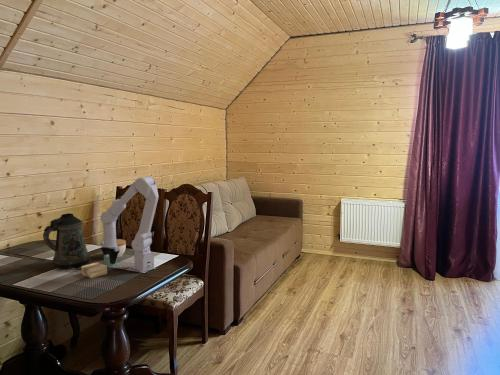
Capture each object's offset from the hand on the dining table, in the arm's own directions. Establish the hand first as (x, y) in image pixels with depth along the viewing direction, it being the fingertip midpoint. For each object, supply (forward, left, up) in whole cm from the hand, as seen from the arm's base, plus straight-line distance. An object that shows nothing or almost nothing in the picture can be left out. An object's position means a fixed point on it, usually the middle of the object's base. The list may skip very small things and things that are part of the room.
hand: (110, 262), depth 193 cm
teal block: (0, 0, -1) cm, 1 cm away
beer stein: (+14, +14, -2) cm, 20 cm away
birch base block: (-6, +11, -2) cm, 13 cm away
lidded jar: (+12, -9, -2) cm, 15 cm away
